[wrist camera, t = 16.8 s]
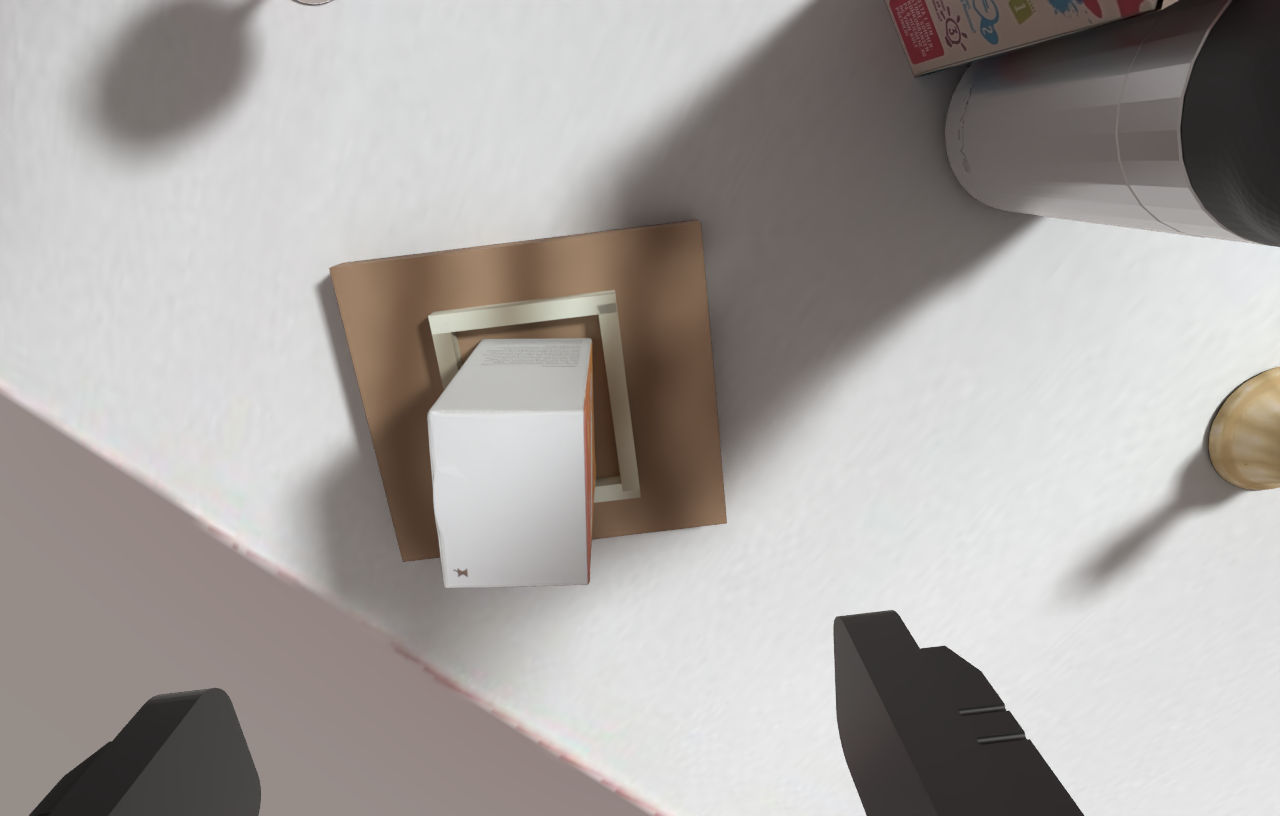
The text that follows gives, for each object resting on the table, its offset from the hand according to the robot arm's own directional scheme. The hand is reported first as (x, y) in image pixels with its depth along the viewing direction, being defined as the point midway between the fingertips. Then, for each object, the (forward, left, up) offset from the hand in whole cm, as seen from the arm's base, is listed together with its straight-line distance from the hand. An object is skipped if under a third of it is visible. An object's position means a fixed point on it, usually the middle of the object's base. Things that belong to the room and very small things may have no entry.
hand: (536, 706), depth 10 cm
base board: (+4, +6, -34) cm, 35 cm away
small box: (+4, +6, -32) cm, 33 cm away
